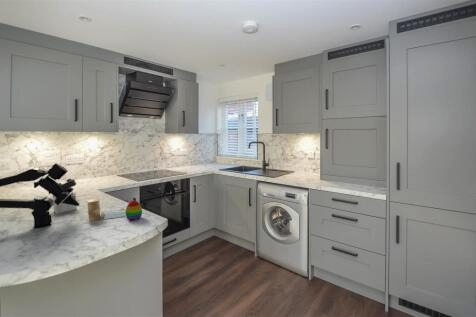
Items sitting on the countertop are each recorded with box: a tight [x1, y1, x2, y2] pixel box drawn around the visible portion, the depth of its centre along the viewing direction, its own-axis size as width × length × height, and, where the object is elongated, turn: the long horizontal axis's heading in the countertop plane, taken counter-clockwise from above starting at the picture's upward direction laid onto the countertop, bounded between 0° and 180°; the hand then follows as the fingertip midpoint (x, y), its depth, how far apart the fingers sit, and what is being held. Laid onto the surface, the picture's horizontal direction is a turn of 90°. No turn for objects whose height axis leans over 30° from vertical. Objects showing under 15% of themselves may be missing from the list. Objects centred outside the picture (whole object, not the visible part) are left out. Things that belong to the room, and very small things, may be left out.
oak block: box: [87, 198, 101, 221], centre depth 135 cm, size 5×6×10 cm
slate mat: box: [99, 210, 127, 221], centre depth 139 cm, size 12×10×2 cm
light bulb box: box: [51, 191, 78, 214], centre depth 151 cm, size 11×7×11 cm, turn 141°
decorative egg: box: [125, 200, 143, 221], centre depth 133 cm, size 8×8×10 cm
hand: (78, 205), depth 132 cm, fingers closed
